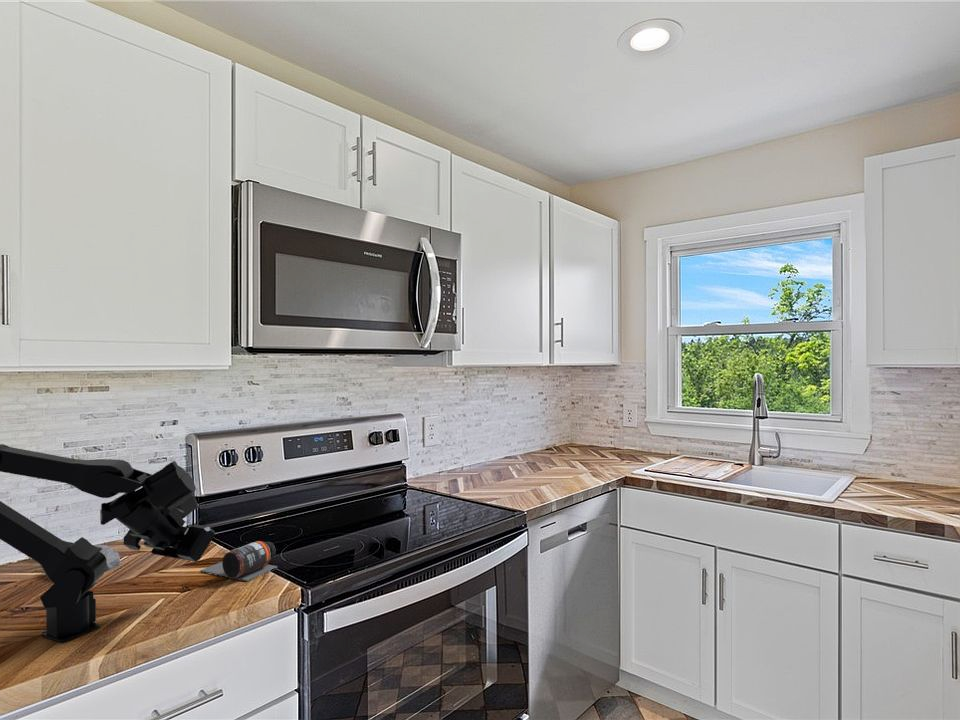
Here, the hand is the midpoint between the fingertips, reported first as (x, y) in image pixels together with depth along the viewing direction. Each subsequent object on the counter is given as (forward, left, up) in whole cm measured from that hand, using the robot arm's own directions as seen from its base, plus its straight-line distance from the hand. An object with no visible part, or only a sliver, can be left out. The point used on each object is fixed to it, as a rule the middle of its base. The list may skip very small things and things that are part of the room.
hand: (194, 558), depth 119 cm
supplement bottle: (+9, 0, -5) cm, 10 cm away
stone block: (+1, +35, -8) cm, 36 cm away
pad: (+15, +4, -8) cm, 18 cm away
